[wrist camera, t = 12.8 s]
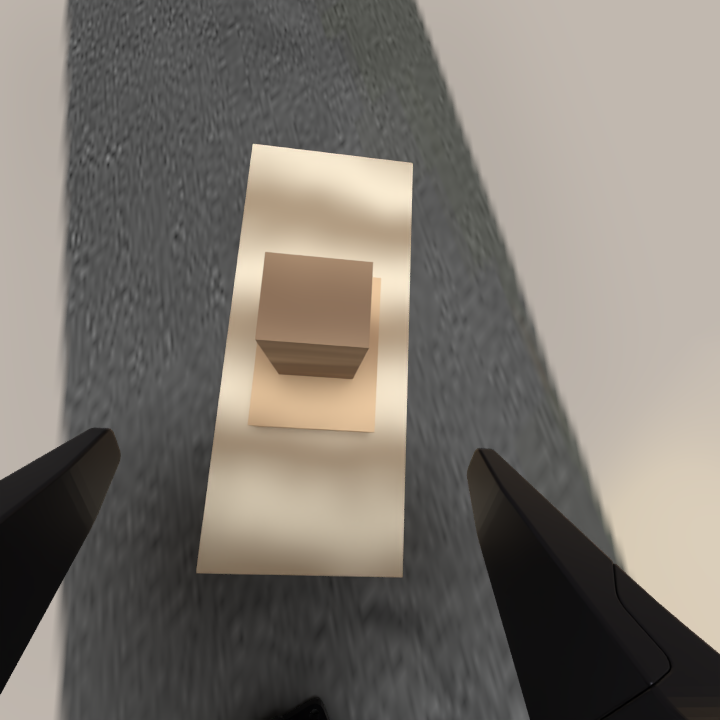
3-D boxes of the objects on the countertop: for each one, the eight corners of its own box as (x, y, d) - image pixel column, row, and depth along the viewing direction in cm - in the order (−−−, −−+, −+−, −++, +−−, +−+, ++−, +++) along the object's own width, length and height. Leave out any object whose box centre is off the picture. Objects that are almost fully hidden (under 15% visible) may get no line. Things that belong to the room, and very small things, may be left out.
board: (391, 558, 21) (402, 577, 18) (214, 553, 20) (195, 573, 17) (402, 193, 26) (412, 163, 23) (260, 177, 25) (252, 143, 23)
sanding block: (369, 432, 20) (403, 429, 11) (255, 426, 19) (204, 417, 11) (375, 292, 21) (409, 200, 13) (271, 283, 21) (237, 181, 13)
